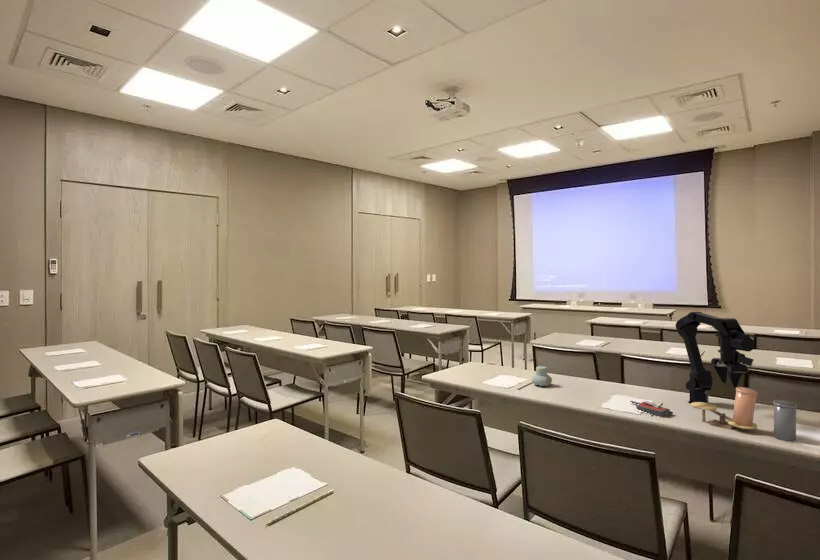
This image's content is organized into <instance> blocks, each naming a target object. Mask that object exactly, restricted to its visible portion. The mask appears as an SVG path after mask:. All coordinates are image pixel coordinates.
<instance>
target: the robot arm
mask: <svg viewBox="0 0 820 560" xmlns="http://www.w3.org/2000/svg"><path fill="white" fill-rule="evenodd" d="M739 323H740V322H738V320H737V319H736V318H733V317H732V318H731V317H718V316H714V315H712V314H707V313H704V312H702V311H690V312H689V313H688V314H687V315H684V316H682V317H680V318H679V319H678V320H677V321H676V323H675V328H676V331H677V333H678V335H679V336H680V338H682V339H683V341H684V345H685V349H686V353H687V357H688V361H689V365H690V368H691V370H690V372H689V375H688V376H689V380H688V381H687V382H686V383H685V388H686V390H688V391H689V400H688V401H687V402H688V403H689V404H691V403H692V402H704V403H709V393H708V391H711V389H712V386H713V383H714V382H713V380H714V379H713V376H712V372H711V370H707V369H706V368H705V367H704V366H705V365H704V362H703V360H702V356H701V352H700V349H699V346H698V341H697V334H698V331H699V330H698V327H699V326H701V324H704V325H708V326H711V327H713V329H714V330H715V331H718V332H717V333H716V334H715V336H716V337H719V349H717V352H718V353H719V354H720V355H719V357H713V358H712V359H711V360H710V361H711V363H710V364H711V365H712V367H713V369H715V372H716V373H717V375H718V376H719V378H720V381H721V382H722V383H723V384H726V383H727V378H728V377H729V380H730V382H731V385H732V388H734V389H736V387H739V386H738V385H739V383H740V380H741V377H742V376H743V375H745V374H747V373H748V372H749V367H752V366H753V363H754V360H755V359H753V358H750V357H747V356H746V354H745V353H741V352H740V351H743V352H748V353H749V352H752V351H753V350H754V349H755V341H754V340H753V339H752V338H751V336H750V334H748V333H747V334H746V333H745V331H744V330H743V328H742V327H741V325H740V324H739ZM727 376H728V377H727Z"/></svg>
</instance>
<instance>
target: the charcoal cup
mask: <svg viewBox="0 0 820 560" xmlns="http://www.w3.org/2000/svg"><path fill="white" fill-rule="evenodd" d="M772 403H773V437H774V438H775V439H777V440H780V441H784V442H790V441H793V442H795V441H794V440H796V441H797V408H798V404H797V403H796V402H793V401H790V400H784V399H776V400H773V402H772Z"/></svg>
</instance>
